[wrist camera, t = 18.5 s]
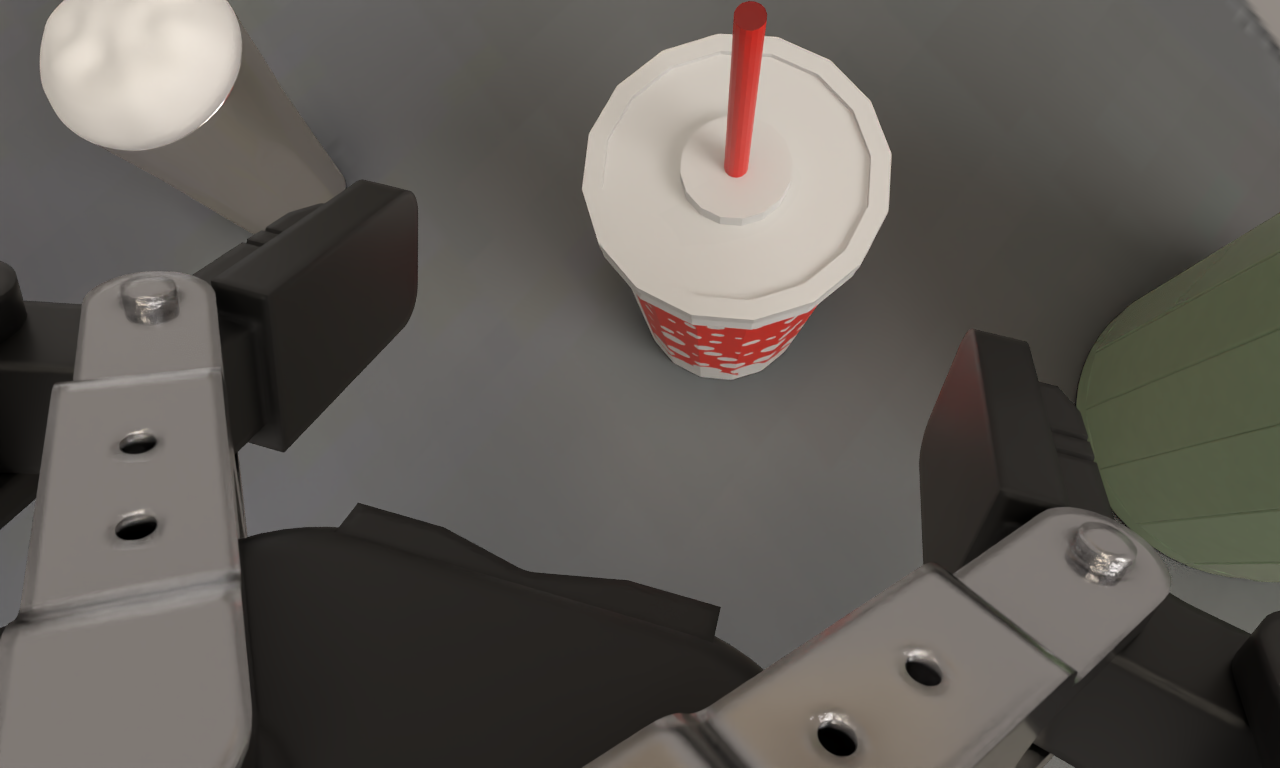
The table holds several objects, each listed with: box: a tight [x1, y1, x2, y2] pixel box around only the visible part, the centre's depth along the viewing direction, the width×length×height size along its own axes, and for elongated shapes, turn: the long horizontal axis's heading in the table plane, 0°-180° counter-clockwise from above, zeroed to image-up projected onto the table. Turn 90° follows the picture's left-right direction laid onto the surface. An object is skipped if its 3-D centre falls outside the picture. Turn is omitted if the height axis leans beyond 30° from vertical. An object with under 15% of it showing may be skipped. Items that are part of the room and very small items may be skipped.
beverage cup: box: [582, 1, 891, 380], centre depth 19 cm, size 6×6×14 cm
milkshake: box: [40, 0, 346, 235], centre depth 23 cm, size 4×5×10 cm
